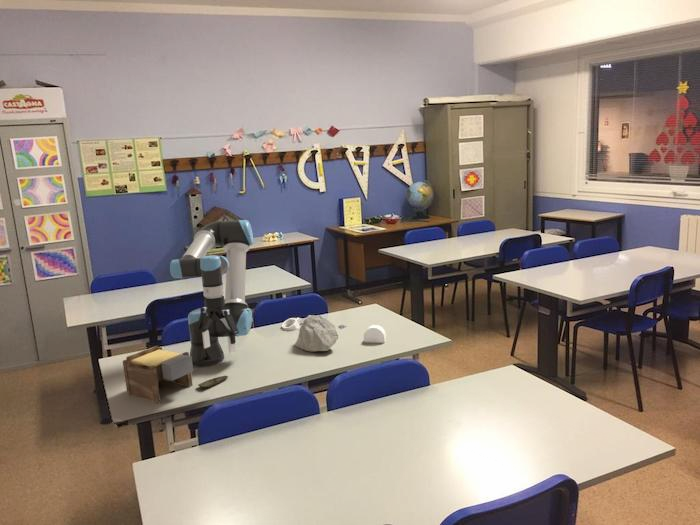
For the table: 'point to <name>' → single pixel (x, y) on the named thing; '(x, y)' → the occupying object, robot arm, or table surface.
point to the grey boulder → (316, 334)
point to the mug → (292, 323)
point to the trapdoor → (167, 363)
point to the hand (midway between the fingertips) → (219, 349)
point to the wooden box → (148, 377)
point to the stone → (213, 381)
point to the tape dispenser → (375, 334)
